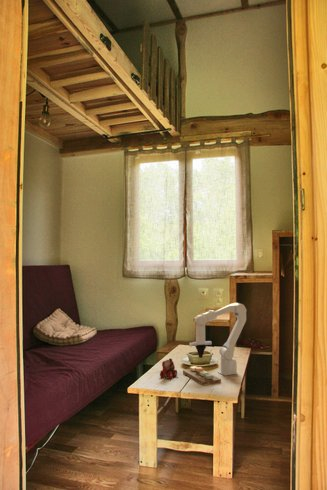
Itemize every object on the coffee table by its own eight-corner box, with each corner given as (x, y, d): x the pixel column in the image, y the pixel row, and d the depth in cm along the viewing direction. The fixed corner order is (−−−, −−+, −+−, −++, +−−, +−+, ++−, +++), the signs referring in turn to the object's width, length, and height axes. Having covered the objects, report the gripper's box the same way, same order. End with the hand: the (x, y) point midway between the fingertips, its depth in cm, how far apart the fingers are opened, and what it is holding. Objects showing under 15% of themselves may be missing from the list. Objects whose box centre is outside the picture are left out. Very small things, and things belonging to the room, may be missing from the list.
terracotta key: (200, 372, 241) (200, 366, 242) (203, 374, 238) (203, 368, 238) (194, 373, 240) (194, 367, 240) (197, 375, 237) (197, 369, 237)
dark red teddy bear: (178, 375, 242) (179, 358, 242) (168, 380, 231) (168, 362, 232) (169, 373, 245) (169, 356, 246) (158, 378, 235) (158, 360, 235)
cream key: (195, 372, 247) (195, 366, 247) (198, 373, 243) (198, 367, 244) (190, 372, 245) (190, 366, 246) (193, 374, 242) (193, 368, 242)
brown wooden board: (200, 371, 250) (200, 368, 250) (221, 382, 227) (221, 379, 227) (183, 373, 245) (183, 370, 245) (202, 385, 222) (202, 381, 222)
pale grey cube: (210, 380, 230) (210, 373, 231) (213, 381, 227) (213, 375, 227) (204, 380, 229) (204, 374, 229) (207, 382, 225) (207, 376, 226)
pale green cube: (205, 377, 236) (205, 371, 236) (208, 379, 232) (208, 372, 233) (199, 377, 234) (199, 371, 235) (202, 379, 231) (202, 373, 231)
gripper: (207, 333, 251) (207, 354, 250) (187, 334, 245) (187, 356, 245) (213, 334, 244) (213, 357, 244) (192, 336, 239) (192, 359, 238)
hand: (200, 357), depth 244 cm, fingers closed
